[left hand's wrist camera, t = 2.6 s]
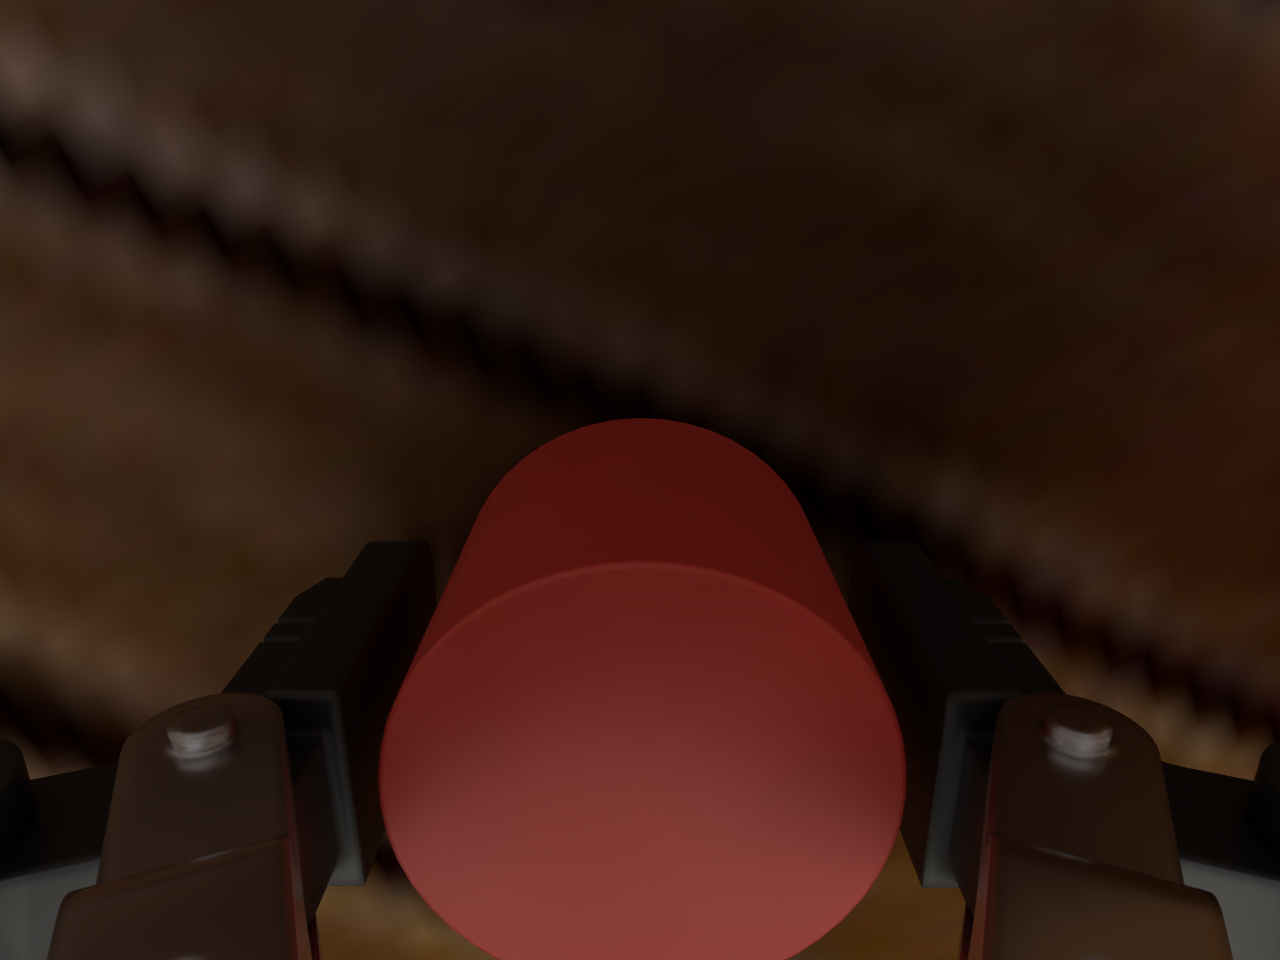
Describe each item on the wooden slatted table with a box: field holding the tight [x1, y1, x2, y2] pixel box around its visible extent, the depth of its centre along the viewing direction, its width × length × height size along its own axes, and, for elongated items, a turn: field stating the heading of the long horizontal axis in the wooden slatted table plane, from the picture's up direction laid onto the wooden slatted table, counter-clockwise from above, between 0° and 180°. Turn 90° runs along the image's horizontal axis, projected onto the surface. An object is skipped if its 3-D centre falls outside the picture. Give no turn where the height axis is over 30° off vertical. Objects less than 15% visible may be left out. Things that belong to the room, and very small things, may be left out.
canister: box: [378, 418, 907, 960], centre depth 10 cm, size 5×5×4 cm
